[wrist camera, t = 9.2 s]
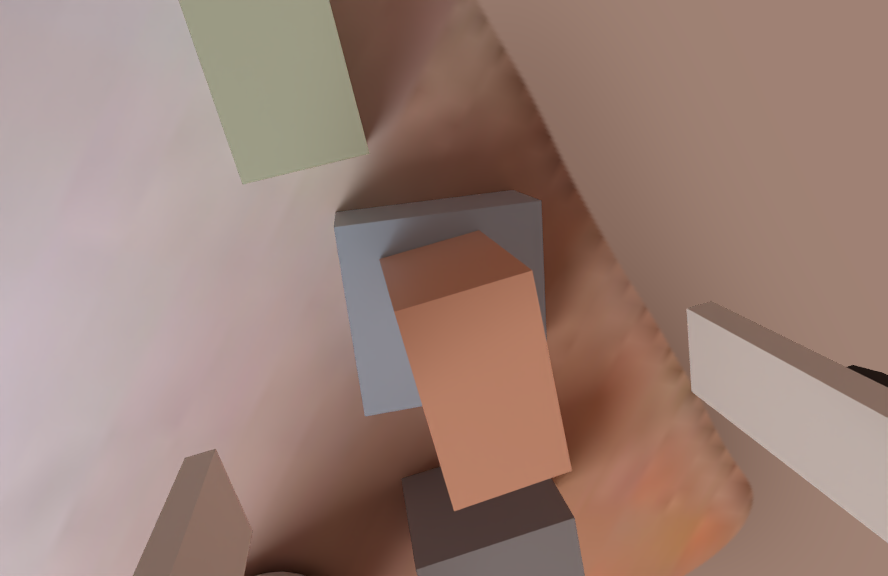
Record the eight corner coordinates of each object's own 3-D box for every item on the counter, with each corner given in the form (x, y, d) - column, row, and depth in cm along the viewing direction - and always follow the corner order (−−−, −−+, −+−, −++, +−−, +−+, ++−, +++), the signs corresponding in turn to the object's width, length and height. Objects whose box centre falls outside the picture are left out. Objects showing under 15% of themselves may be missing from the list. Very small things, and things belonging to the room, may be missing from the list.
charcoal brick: (419, 536, 28) (437, 638, 23) (401, 477, 27) (415, 569, 22) (540, 497, 29) (586, 586, 24) (528, 438, 28) (574, 517, 22)
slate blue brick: (335, 210, 23) (333, 227, 19) (510, 189, 24) (541, 200, 20) (362, 373, 25) (364, 416, 22) (519, 347, 27) (548, 383, 23)
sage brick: (207, -18, 19) (151, -77, 14) (313, -39, 20) (301, -105, 14) (269, 169, 22) (242, 184, 16) (362, 147, 22) (369, 153, 16)
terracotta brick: (379, 259, 20) (394, 311, 14) (479, 230, 20) (532, 270, 15) (425, 413, 22) (454, 511, 16) (514, 384, 22) (571, 471, 17)
